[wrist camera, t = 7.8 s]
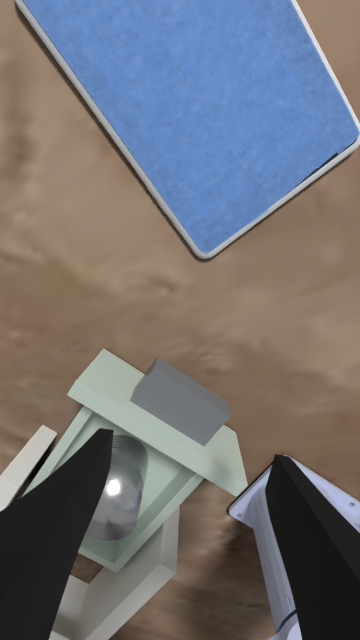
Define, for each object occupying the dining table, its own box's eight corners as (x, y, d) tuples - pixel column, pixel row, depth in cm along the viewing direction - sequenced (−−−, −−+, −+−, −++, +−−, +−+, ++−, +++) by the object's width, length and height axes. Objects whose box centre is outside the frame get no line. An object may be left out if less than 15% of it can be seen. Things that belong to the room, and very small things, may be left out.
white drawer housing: (179, 504, 25) (175, 589, 19) (96, 594, 29) (70, 689, 23) (42, 424, 24) (-12, 489, 17) (-27, 531, 27) (-91, 616, 21)
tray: (258, 407, 22) (277, 455, 17) (135, 542, 27) (122, 611, 22) (123, 318, 20) (101, 342, 15) (17, 478, 25) (-26, 537, 20)
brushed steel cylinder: (159, 454, 22) (151, 511, 18) (128, 488, 24) (113, 551, 19) (114, 424, 22) (92, 475, 17) (84, 460, 23) (56, 518, 18)
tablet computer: (360, 146, 17) (373, 138, 16) (202, 264, 20) (202, 266, 19) (180, -196, 14) (179, -240, 12) (13, 2, 16) (-2, -19, 15)
